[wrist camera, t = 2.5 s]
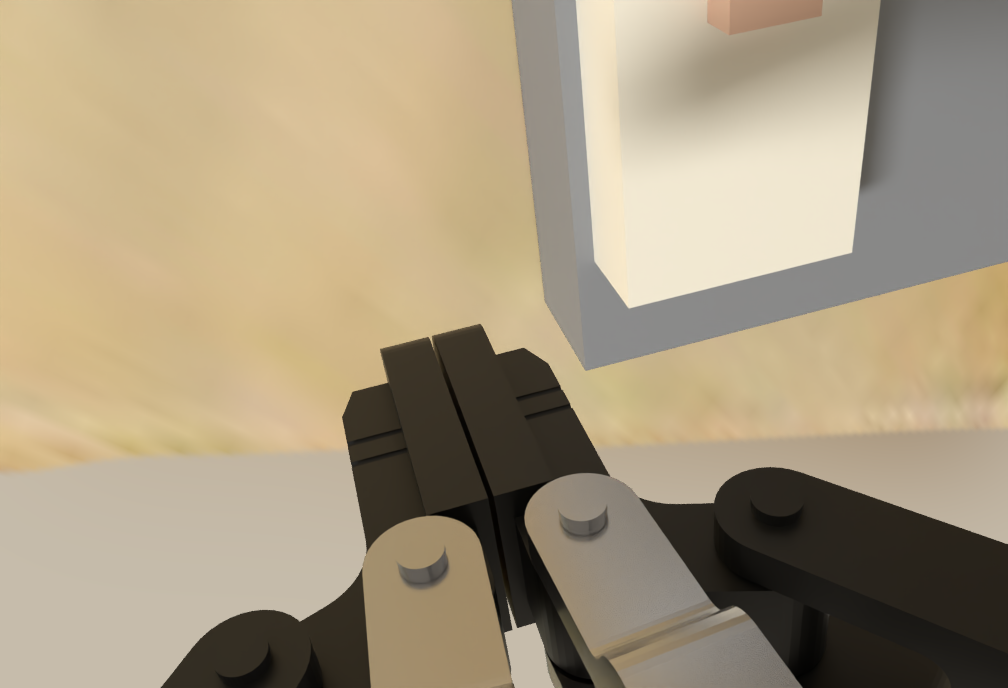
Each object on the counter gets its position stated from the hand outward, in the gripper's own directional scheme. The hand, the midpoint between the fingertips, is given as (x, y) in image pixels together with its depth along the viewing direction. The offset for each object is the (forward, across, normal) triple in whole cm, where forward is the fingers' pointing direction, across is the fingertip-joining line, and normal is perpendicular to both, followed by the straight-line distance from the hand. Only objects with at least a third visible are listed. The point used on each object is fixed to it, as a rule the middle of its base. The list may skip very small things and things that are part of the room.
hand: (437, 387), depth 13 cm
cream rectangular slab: (+9, -8, 0) cm, 13 cm away
